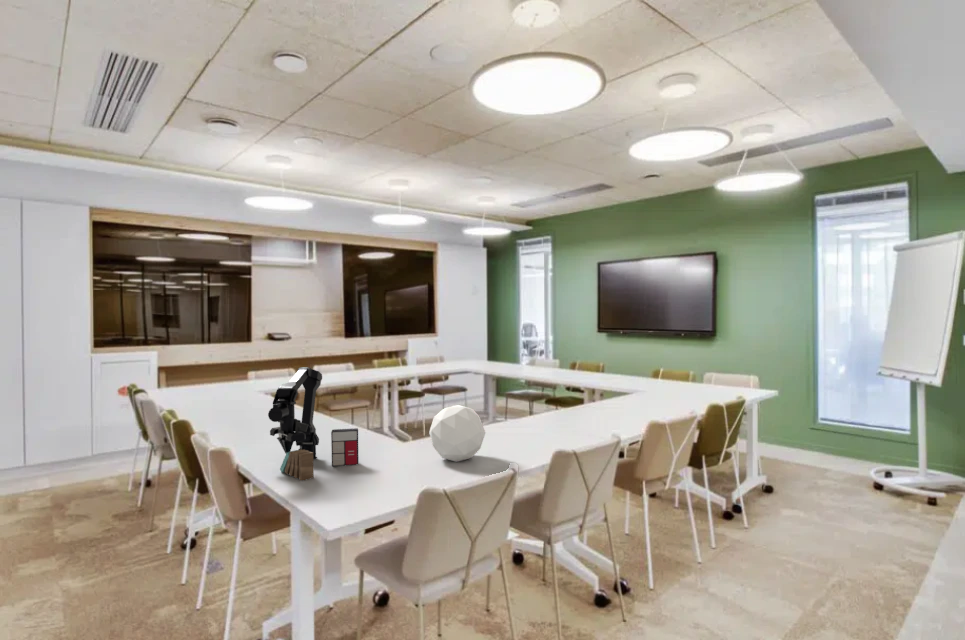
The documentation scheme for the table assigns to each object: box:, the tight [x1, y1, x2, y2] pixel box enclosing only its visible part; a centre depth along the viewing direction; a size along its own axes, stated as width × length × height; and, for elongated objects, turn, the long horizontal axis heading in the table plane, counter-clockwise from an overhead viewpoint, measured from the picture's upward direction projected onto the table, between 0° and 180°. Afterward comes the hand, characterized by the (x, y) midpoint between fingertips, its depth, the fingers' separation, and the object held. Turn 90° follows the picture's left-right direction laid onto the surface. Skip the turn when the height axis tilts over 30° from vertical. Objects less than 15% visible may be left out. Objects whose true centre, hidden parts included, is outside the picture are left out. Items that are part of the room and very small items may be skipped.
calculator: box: [330, 427, 360, 467], centre depth 226 cm, size 11×4×15 cm, turn 101°
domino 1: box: [279, 449, 298, 473], centre depth 216 cm, size 2×5×10 cm
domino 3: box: [288, 450, 305, 477], centre depth 212 cm, size 2×5×10 cm, turn 138°
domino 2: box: [284, 449, 302, 475], centre depth 214 cm, size 2×5×10 cm, turn 138°
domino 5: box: [298, 452, 314, 481], centre depth 208 cm, size 2×5×10 cm, turn 138°
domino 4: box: [293, 450, 309, 479], centre depth 210 cm, size 2×5×10 cm, turn 138°
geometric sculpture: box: [428, 404, 486, 463], centre depth 233 cm, size 24×25×25 cm
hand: (287, 454), depth 217 cm, fingers closed
